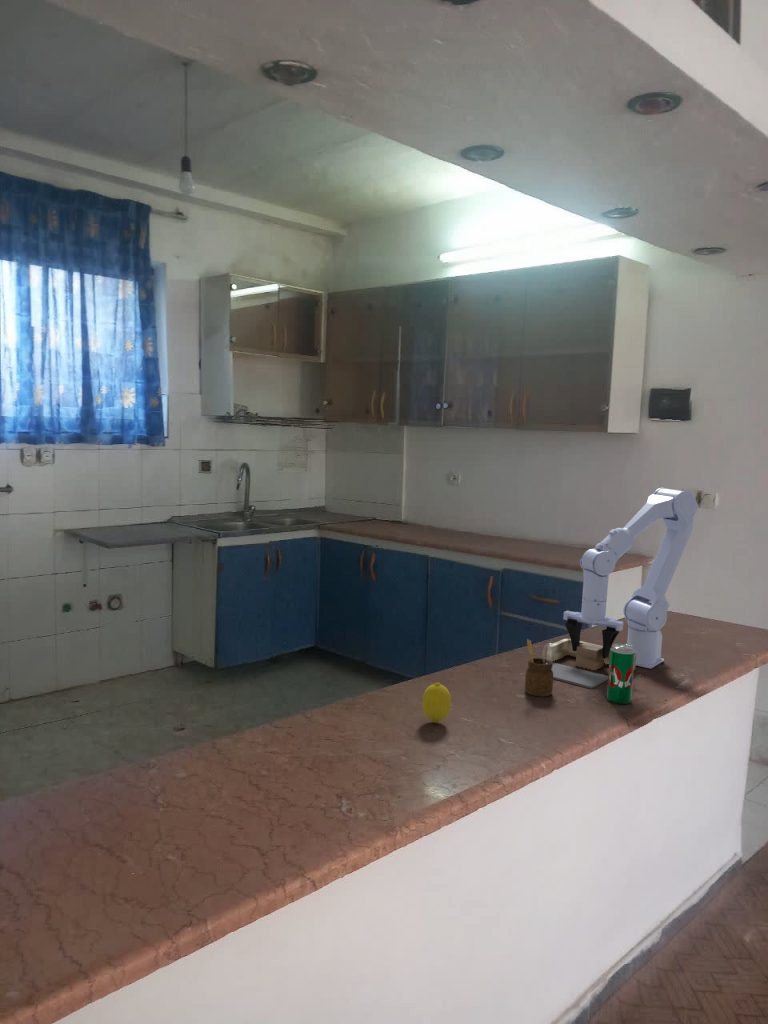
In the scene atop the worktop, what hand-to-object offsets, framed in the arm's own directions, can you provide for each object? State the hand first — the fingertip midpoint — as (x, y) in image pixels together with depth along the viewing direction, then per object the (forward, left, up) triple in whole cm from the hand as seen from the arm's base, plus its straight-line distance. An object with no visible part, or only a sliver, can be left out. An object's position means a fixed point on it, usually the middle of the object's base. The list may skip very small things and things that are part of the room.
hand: (590, 653), depth 189 cm
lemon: (+56, -6, -3) cm, 57 cm away
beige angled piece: (0, 0, -3) cm, 3 cm away
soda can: (+18, +15, -3) cm, 24 cm away
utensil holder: (+26, 0, -3) cm, 27 cm away
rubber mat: (+10, 0, -3) cm, 11 cm away
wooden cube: (0, 0, -3) cm, 3 cm away
